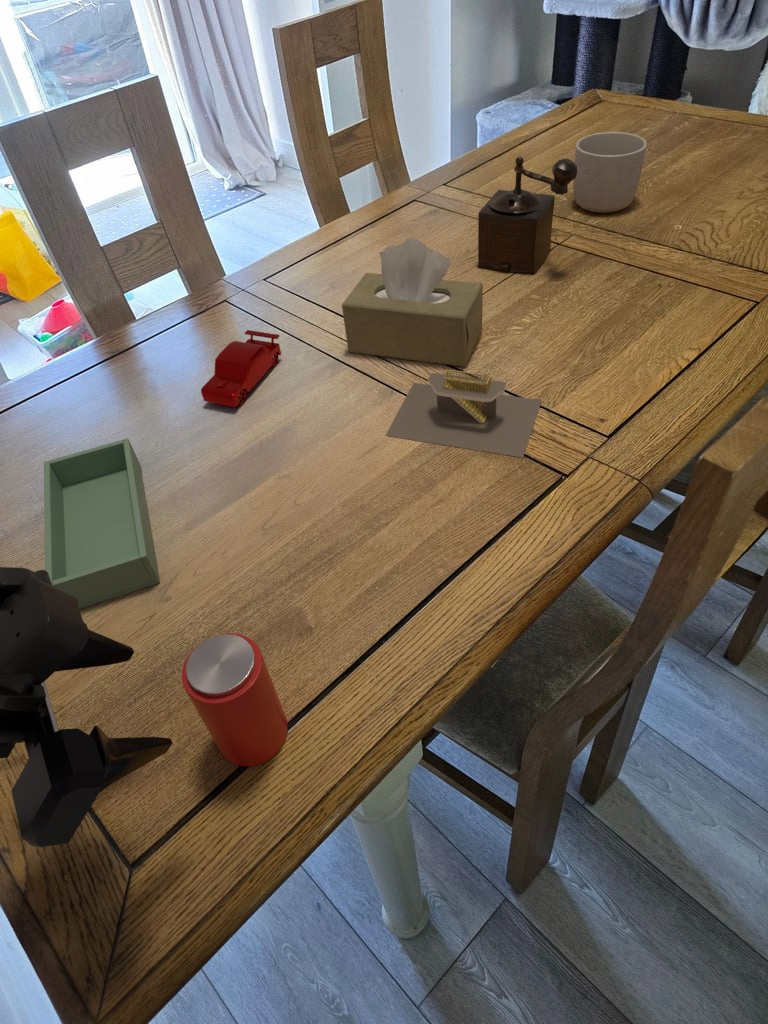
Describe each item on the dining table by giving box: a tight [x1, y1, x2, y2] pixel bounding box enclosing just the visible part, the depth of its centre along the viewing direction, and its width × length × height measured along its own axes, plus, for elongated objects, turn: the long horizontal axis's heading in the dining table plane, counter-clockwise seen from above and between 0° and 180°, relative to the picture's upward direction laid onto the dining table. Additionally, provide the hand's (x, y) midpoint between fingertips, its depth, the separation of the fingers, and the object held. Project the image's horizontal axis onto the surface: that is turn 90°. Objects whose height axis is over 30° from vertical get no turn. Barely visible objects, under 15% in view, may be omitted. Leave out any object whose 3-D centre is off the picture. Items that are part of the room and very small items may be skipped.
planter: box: [572, 131, 648, 214], centre depth 129 cm, size 12×12×11 cm
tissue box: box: [341, 238, 484, 368], centre depth 100 cm, size 19×10×16 cm, turn 70°
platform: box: [385, 369, 543, 459], centre depth 89 cm, size 12×18×7 cm, turn 70°
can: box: [181, 632, 289, 767], centre depth 59 cm, size 6×6×12 cm
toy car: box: [200, 329, 282, 408], centre depth 100 cm, size 14×6×5 cm, turn 158°
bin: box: [43, 438, 161, 610], centre depth 81 cm, size 10×21×5 cm, turn 20°
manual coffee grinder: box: [477, 156, 577, 274], centre depth 114 cm, size 16×11×18 cm
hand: (149, 697), depth 52 cm, fingers open, 9 cm apart
